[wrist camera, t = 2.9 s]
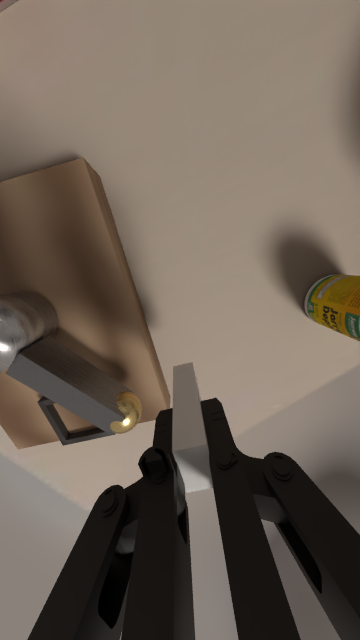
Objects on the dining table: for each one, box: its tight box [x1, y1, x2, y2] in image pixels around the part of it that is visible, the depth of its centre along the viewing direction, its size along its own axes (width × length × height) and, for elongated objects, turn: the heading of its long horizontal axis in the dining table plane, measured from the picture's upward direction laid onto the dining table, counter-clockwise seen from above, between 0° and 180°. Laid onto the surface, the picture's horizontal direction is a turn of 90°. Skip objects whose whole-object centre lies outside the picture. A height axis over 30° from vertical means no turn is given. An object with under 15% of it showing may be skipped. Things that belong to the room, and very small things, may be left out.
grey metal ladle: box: [0, 291, 142, 434], centre depth 15 cm, size 15×5×5 cm, turn 49°
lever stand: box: [0, 158, 170, 449], centre depth 18 cm, size 18×24×4 cm
